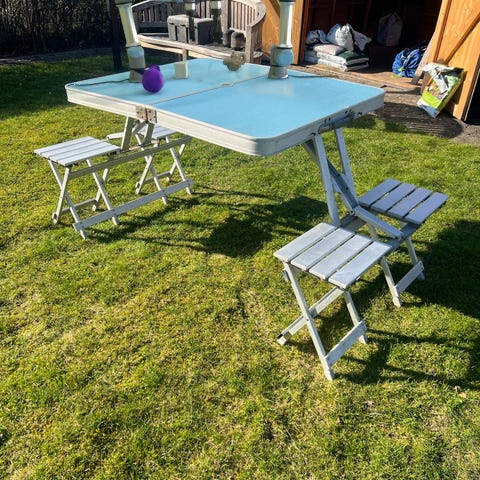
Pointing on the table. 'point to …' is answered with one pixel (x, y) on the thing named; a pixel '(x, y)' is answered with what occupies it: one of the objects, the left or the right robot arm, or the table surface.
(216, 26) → the right robot arm
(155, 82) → the toy
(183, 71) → the brick
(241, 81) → the table surface
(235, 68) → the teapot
